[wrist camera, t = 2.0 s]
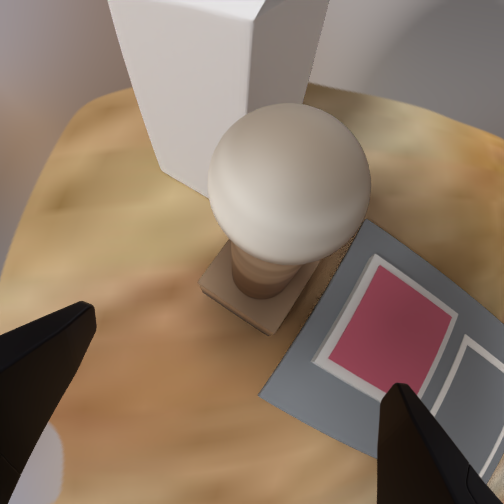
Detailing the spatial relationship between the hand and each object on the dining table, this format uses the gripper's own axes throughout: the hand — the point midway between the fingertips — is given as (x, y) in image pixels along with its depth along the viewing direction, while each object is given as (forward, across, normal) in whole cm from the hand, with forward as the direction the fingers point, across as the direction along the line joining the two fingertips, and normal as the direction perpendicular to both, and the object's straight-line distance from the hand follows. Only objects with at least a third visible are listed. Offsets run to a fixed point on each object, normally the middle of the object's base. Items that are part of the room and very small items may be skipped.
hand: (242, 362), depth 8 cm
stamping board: (+8, -15, +8) cm, 19 cm away
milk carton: (+18, +4, -1) cm, 18 cm away
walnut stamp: (+11, 0, +5) cm, 12 cm away
